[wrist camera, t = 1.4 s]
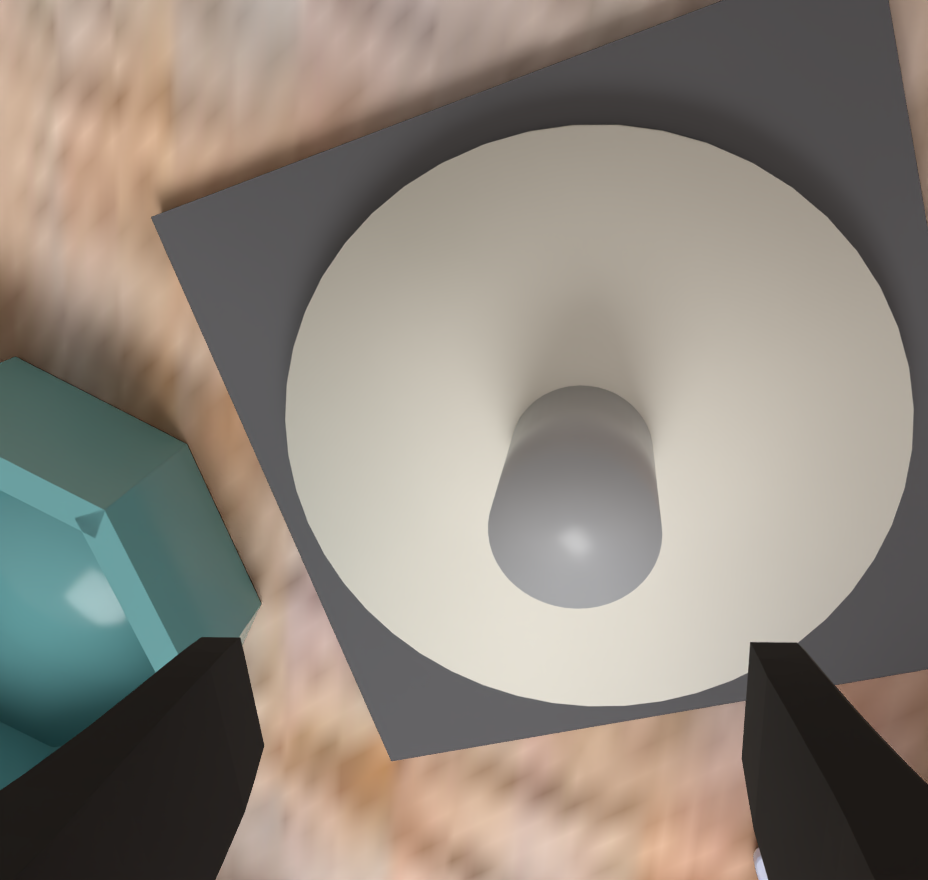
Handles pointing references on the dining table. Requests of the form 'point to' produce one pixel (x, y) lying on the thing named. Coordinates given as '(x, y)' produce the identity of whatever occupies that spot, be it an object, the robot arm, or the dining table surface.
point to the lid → (598, 415)
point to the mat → (592, 103)
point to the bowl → (97, 561)
